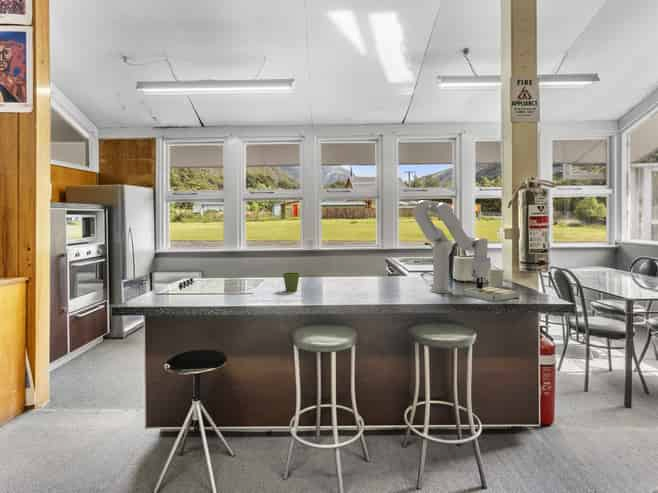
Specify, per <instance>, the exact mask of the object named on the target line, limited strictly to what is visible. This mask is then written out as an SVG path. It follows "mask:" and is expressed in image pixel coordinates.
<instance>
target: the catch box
mask: <svg viewBox="0 0 658 493" xmlns="http://www.w3.org/2000/svg"><path fill="white" fill-rule="evenodd" d="M477 289H478V288H477V287H472V288H470V287H469V288H465V289H463V290H462V291H463V292H462V294H463V296H466V297H470V298H475V299H480V300H484V301H489V302H493V303H496V302H501V301H506V300H507V299H506V294H498V295H490V294H485V293H481V292H476V291H471V290H477Z"/></svg>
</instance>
